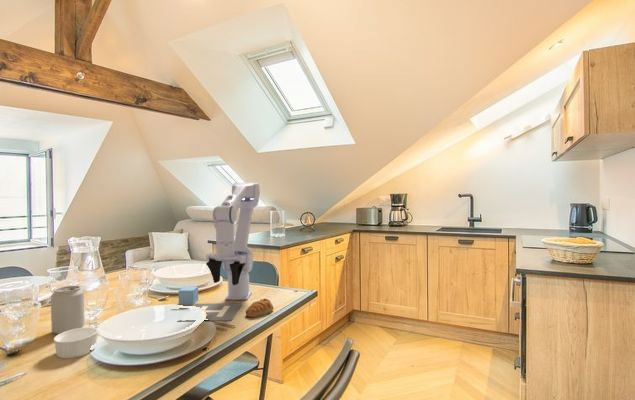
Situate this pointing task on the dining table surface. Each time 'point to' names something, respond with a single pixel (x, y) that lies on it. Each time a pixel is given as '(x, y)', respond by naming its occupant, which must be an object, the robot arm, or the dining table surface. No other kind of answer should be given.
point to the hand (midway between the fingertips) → (226, 283)
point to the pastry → (259, 308)
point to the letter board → (220, 310)
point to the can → (67, 309)
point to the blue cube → (188, 295)
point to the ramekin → (75, 342)
